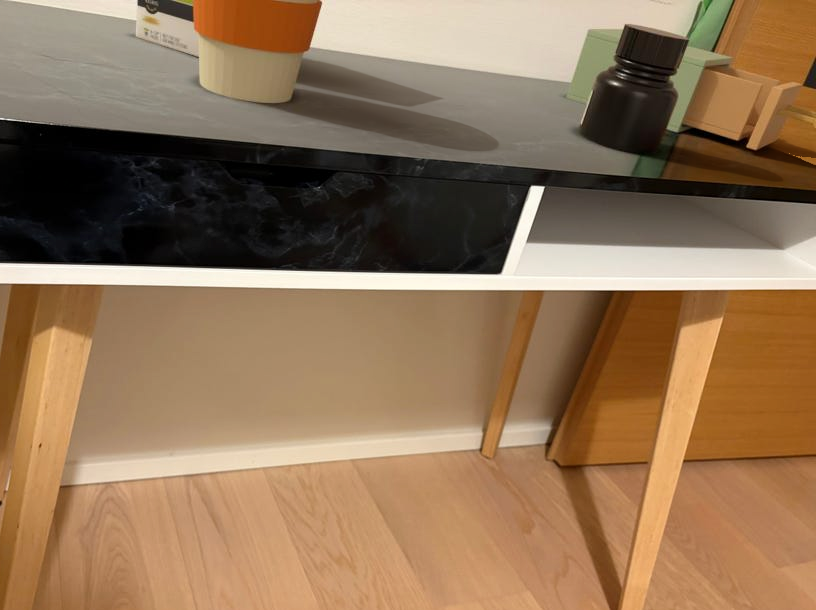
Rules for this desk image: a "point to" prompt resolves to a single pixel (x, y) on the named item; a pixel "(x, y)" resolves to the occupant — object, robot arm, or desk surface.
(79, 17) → the desk surface
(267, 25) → the reusable coffee cup
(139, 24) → the tea box
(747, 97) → the drawer
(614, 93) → the ink bottle
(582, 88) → the cabinet
